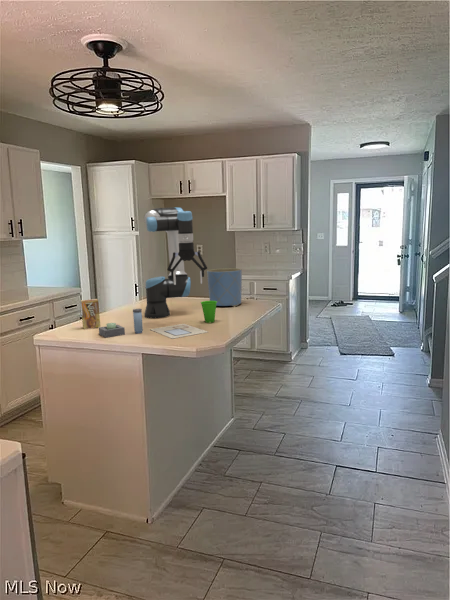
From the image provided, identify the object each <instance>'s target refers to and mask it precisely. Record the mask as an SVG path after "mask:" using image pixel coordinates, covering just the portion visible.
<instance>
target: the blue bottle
mask: <svg viewBox="0 0 450 600" xmlns="http://www.w3.org/2000/svg"><path fill="white" fill-rule="evenodd" d="M142 311H143V310H142V308H133V309H132V314H133V315H132V317H133V328H134V332H135V334H143V331H144V327H143V313H142Z"/></svg>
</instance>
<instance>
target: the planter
mask: <svg viewBox="0 0 450 600" xmlns="http://www.w3.org/2000/svg"><path fill="white" fill-rule="evenodd" d="M242 273H243V272H242V268H233V267H230V268H229V267H227V268H223V267H222V268H213V269H207V270H206V274H207V275H206V276H207V286H208V294H209V295H208V296H209V301H217V303H216V307H218V306H219V307H228V306H232V307H233V308H235V307H237V306H239V305H240V304H242V288H243V287H242V285H243V281H242V280H243V279H242V277H243V276H242V275H243V274H242ZM234 306H235V307H234Z"/></svg>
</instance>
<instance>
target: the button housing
mask: <svg viewBox="0 0 450 600" xmlns="http://www.w3.org/2000/svg"><path fill="white" fill-rule="evenodd" d="M125 330H126V329H125V327H124V326H122V325H120V324H116V328H114V329H107V325H105V326H100V327H98V334H99V335H100V336H101V337H103V338H112V337H118V336H125V335H126V331H125Z"/></svg>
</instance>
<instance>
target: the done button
mask: <svg viewBox="0 0 450 600" xmlns="http://www.w3.org/2000/svg"><path fill="white" fill-rule="evenodd" d="M116 325H117V323H116V322H108V323H106V324H105V326H107V329H114V328H116Z"/></svg>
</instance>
